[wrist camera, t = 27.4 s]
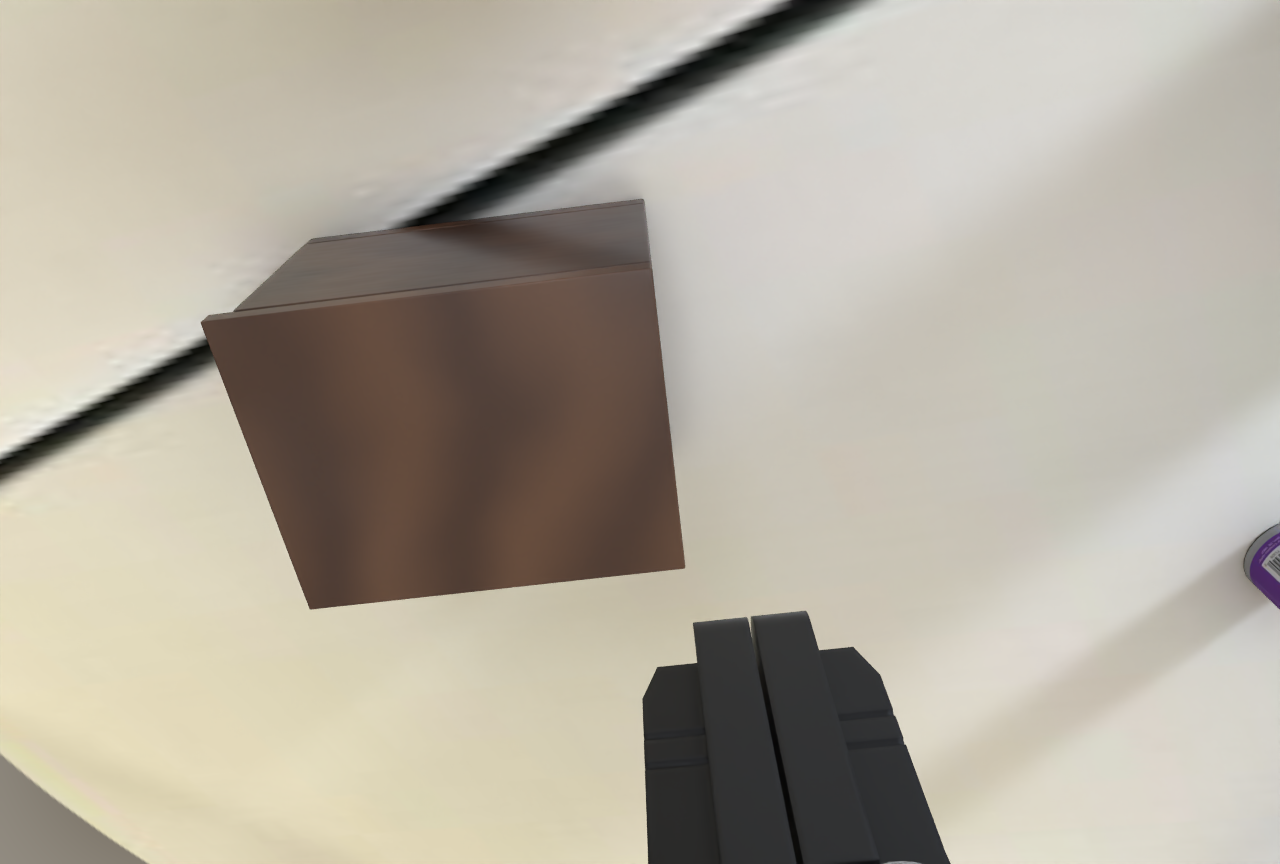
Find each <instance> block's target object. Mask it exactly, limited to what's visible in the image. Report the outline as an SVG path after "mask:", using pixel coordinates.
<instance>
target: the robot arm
mask: <svg viewBox="0 0 1280 864" xmlns="http://www.w3.org/2000/svg"><path fill="white" fill-rule="evenodd" d="M693 627H694V636H695V646H696V655H697V663H694V664H684V665H674V666H664V667H657V669H656V671H655V674H654V676H653V678H652V680H651V682H650V684H649V686H648V688H647V691H646V693H645V695H644V697H643V726H644V754H645V782H646V810H647V838H648V864H950V861H949V859H948V857H947V855H946V853H945V850H944V847H943V845H942V842H941V839H940V836H939V834H938V831H937V828H936V826H935V823H934V820H933V817H932V815H931V812H930V809H929V807H928V804H927V801H926V798H925V796H924V793H923V790H922V787H921V785H920V782H919V779H918V777H917V774H916V771H915V768H914V766H913V763H912V760H911V757H910V755H909V752H908V749H907V747H906V745H904V741H903V736H902V733H901V730H900V728H899V725H898V722H897V719H896V717H895V716H894V715H893V708H892V706H891V703H890V700H889V698H888V695H887V692H886V689H885V687H884V684H883V681H882V679H881V676H880V674H879V673H878V672H877V671H876V670H875V669H874V668H873V667H872V666H871V665H870V664H869V663H868V662H867V661H866V660H865V659H864V658H863V657H862V656H861V655H860V654H859V653H858V652H857V651H856V650H855V648H854V647H848V648H838V649H828V650H819V649H818V646H817V642H816V639H815V635H814V632H813V629H812V625H811V622H810V619H809V616H808V613H807V612H806V611H799V612H790V613H780V614H770V615H761V616H752V617H751V632H750V627H749V622H748V619H747V617H744V618H734V619H724V620H715V621H705V622H695V623H693ZM751 634H752V637H751Z"/></svg>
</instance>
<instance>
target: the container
mask: <svg viewBox="0 0 1280 864" xmlns="http://www.w3.org/2000/svg"><path fill="white" fill-rule="evenodd" d="M1244 569H1245V573H1246V575H1247V577H1248V578H1249V579H1250V580H1251V582H1252V583H1253V584H1254V585H1255V586H1256V587H1257V588H1258V589H1259V590H1260V591H1261V592H1262V593H1263V594H1264V595H1265V596H1266V597H1267V598H1268V599H1269V600H1271V601H1272V602H1273V603H1274V604H1275V605H1276V606H1277V607H1278V608H1279V609H1280V524H1279V525H1277V526H1275V527H1273V528H1271V529H1269V530H1268V531H1266V532H1265V533H1264V534H1262V535H1261V536H1260V537H1259V538H1258V539H1257V540H1256V541H1255V542H1254V543H1253V544H1252V546H1251V547H1250V549H1249V551H1248V552H1247V555H1246V557H1245V561H1244Z"/></svg>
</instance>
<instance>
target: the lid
mask: <svg viewBox="0 0 1280 864" xmlns="http://www.w3.org/2000/svg"><path fill="white" fill-rule="evenodd" d="M201 325H202V328H203V330H204V333H205V335H206V338H207V341H208V343H209V346H210V349H211V351H212V354H213V356H214V359H215V362H216V364H217V367H218V370H219V372H220V375H221V377H222V380H223V383H224V385H225V388H226V391H227V393H228V396H229V398H230V401H231V404H232V406H233V409H234V412H235V414H236V417H237V419H238V422H239V425H240V427H241V430H242V433H243V435H244V438H245V440H246V443H247V446H248V448H249V451H250V454H251V456H252V459H253V461H254V464H255V467H256V469H257V472H258V475H259V477H260V480H261V482H262V485H263V488H264V490H265V493H266V496H267V498H268V501H269V503H270V506H271V509H272V511H273V514H274V517H275V519H276V522H277V524H278V527H279V530H280V532H281V535H282V538H283V540H284V543H285V545H286V548H287V551H288V553H289V556H290V559H291V561H292V564H293V566H294V569H295V572H296V574H297V577H298V580H299V582H300V585H301V587H302V590H303V593H304V595H305V598H306V601H307V603H308V606H309V608H310V609H319V608H328V607H337V606H346V605H356V604H365V603H374V602H383V601H392V600H401V599H410V598H420V597H429V596H438V595H447V594H456V593H465V592H474V591H483V590H493V589H502V588H511V587H520V586H529V585H538V584H547V583H556V582H566V581H575V580H584V579H593V578H602V577H611V576H620V575H630V574H639V573H648V572H657V571H666V570H675V569H684V568H685V560H684V551H683V542H682V533H681V524H680V515H679V506H678V497H677V488H676V479H675V470H674V461H673V452H672V443H671V434H670V425H669V416H668V407H667V398H666V389H665V380H664V371H663V362H662V353H661V344H660V335H659V326H658V317H657V308H656V299H655V290H654V281H653V272H652V264H651V263H650V262H648V263H640V264H631V265H623V266H615V267H606V268H598V269H590V270H581V271H573V272H565V273H556V274H548V275H540V276H531V277H523V278H515V279H506V280H498V281H490V282H481V283H473V284H465V285H456V286H448V287H440V288H431V289H423V290H415V291H406V292H398V293H390V294H381V295H373V296H365V297H356V298H348V299H340V300H331V301H323V302H315V303H306V304H298V305H290V306H281V307H273V308H265V309H256V310H248V311H240V312H231V313H223V314H215V315H208V316H207V317H206V318H205V319H204V320H203V321H202V322H201Z"/></svg>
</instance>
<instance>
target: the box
mask: <svg viewBox="0 0 1280 864" xmlns="http://www.w3.org/2000/svg"><path fill="white" fill-rule="evenodd" d="M648 262H650V263H651V255H650V247H649V238H648V229H647V221H646V212H645V204H644V200H643V199H638V200H630V201H621V202H613V203H605V204H597V205H588V206H580V207H572V208H563V209H555V210H547V211H539V212H530V213H522V214H514V215H506V216H497V217H489V218H481V219H473V220H464V221H456V222H448V223H439V224H431V225H423V226H415V227H406V228H398V229H390V230H382V231H373V232H365V233H357V234H348V235H340V236H332V237H324V238H315V239H311V240H310V241H308V242H307V243H306V244H305V245H304V246H303V247H302V248H301V249H300V250H299V251H298V252H296V253H295V254H294V255H293V256H292V257H291V258H290V259H289V260H288V261H287V262H286V263H285V264H283V265H282V266H281V267H280V268H279V269H278V270H277V271H276V272H275V273H274V274H273V275H272V276H270V277H269V278H268V279H267V280H266V281H265V282H264V283H263V284H262V285H261V286H260V287H259V288H257V289H256V290H255V291H254V292H253V293H252V294H251V295H250V296H249V297H248V298H247V299H246V300H244V301H243V302H242V303H241V304H240V305H239V306H238V307H237V308H236V309H235V310H234V312H240V311H248V310H256V309H265V308H273V307H281V306H290V305H298V304H306V303H315V302H323V301H331V300H340V299H348V298H356V297H365V296H373V295H381V294H390V293H398V292H406V291H415V290H423V289H431V288H440V287H448V286H456V285H465V284H473V283H481V282H490V281H498V280H506V279H515V278H523V277H531V276H540V275H548V274H556V273H565V272H573V271H581V270H590V269H598V268H606V267H615V266H623V265H631V264H640V263H648Z"/></svg>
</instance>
